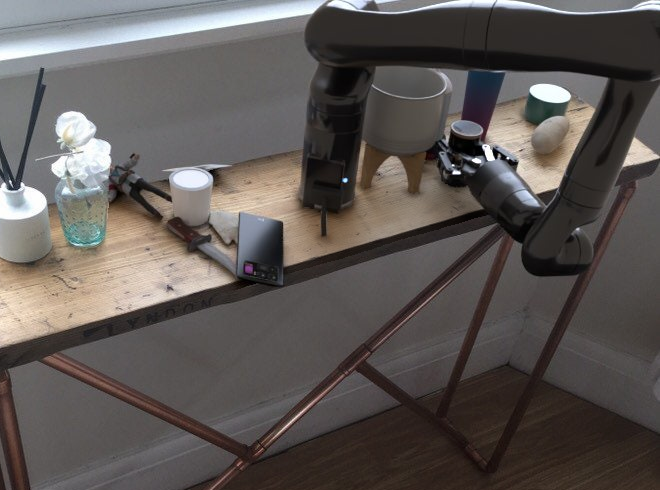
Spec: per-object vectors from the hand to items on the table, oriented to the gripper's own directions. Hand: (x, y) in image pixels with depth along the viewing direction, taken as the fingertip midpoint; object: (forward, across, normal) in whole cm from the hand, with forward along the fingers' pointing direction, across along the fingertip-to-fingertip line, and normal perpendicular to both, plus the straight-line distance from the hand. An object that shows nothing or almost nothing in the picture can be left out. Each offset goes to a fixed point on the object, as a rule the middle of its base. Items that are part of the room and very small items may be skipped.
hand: (455, 142), depth 153 cm
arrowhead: (-12, +41, +5) cm, 43 cm away
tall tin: (-3, 0, +6) cm, 7 cm away
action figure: (-3, +52, +4) cm, 52 cm away
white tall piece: (+9, +1, +6) cm, 11 cm away
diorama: (+10, +44, +4) cm, 45 cm away
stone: (+4, -23, +6) cm, 24 cm away
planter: (+1, +11, +6) cm, 13 cm away
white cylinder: (-3, +48, +6) cm, 48 cm away
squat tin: (+15, -29, +6) cm, 33 cm away
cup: (+11, -10, +6) cm, 16 cm away
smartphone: (-16, +40, +4) cm, 43 cm away
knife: (-11, +46, +5) cm, 47 cm away
